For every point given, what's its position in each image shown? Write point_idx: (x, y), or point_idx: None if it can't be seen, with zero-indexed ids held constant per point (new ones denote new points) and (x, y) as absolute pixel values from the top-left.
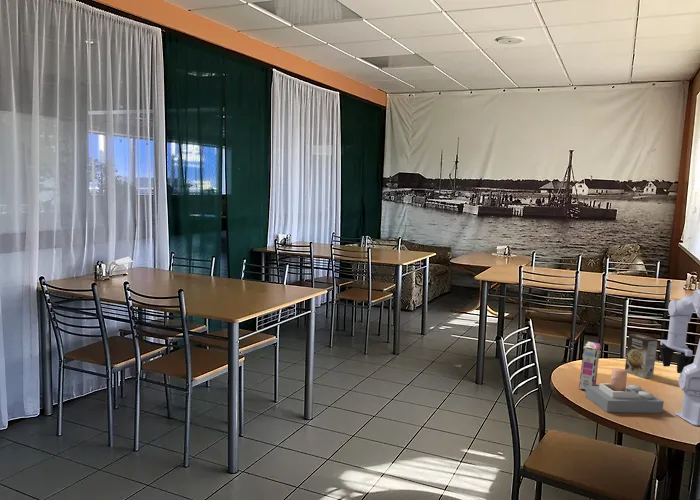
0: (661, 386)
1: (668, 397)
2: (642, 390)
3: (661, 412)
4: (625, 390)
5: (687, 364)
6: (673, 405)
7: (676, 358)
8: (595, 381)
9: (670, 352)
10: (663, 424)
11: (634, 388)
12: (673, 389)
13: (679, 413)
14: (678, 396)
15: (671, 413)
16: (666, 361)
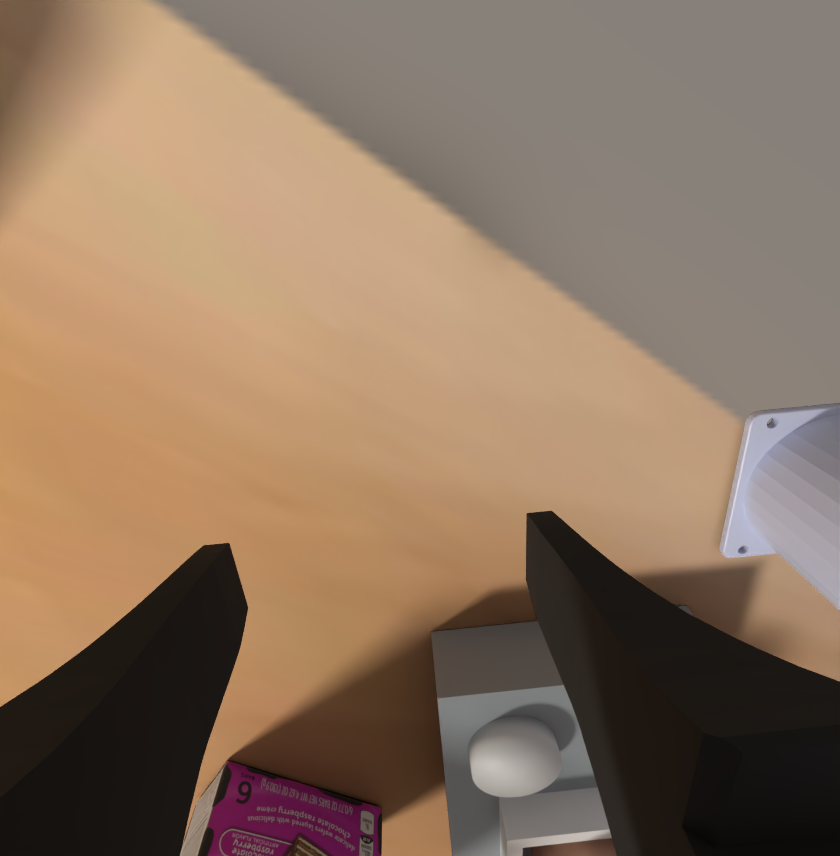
0: (96, 328)
1: (403, 423)
2: (519, 704)
3: (685, 611)
4: (608, 840)
5: (655, 596)
6: (571, 476)
7: (620, 847)
8: (285, 817)
9: (108, 784)
10: (824, 666)
11: (551, 778)
12: (155, 247)
13: (742, 537)
14: (363, 317)
15: (701, 560)
16: (217, 649)
